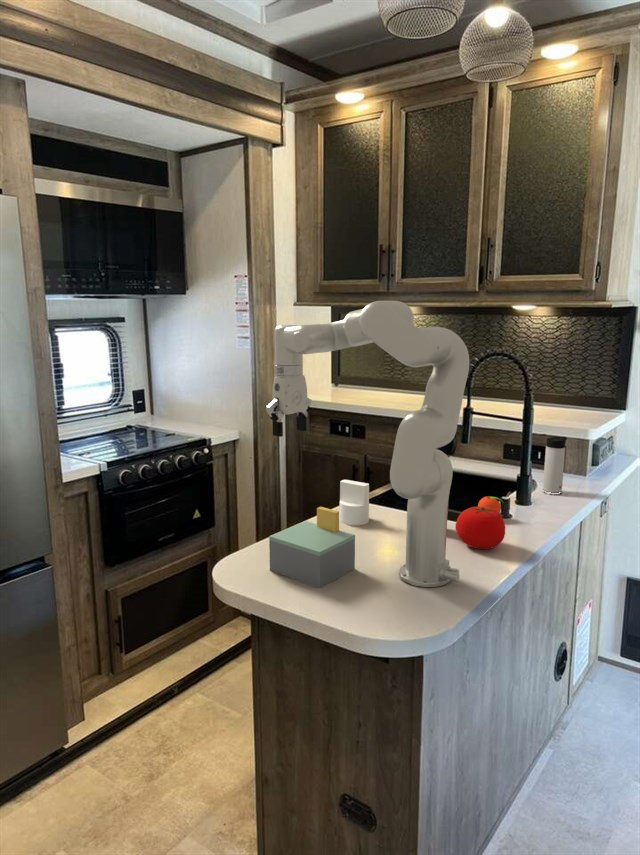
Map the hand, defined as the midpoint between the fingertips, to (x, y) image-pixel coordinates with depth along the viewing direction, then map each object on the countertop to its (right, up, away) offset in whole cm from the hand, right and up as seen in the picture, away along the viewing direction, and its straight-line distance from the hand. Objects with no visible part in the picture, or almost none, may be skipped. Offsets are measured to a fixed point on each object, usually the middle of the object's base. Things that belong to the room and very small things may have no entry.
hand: (289, 433), depth 171 cm
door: (+6, -27, -17) cm, 33 cm away
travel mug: (+90, -22, +48) cm, 104 cm away
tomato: (+52, -31, 0) cm, 61 cm away
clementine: (+61, -27, +22) cm, 70 cm away
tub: (+6, -34, -16) cm, 38 cm away
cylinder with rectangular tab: (+19, -27, +20) cm, 39 cm away
